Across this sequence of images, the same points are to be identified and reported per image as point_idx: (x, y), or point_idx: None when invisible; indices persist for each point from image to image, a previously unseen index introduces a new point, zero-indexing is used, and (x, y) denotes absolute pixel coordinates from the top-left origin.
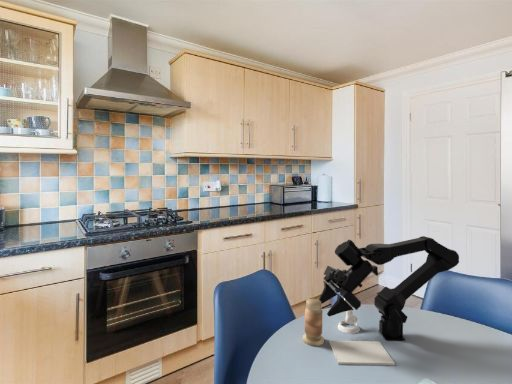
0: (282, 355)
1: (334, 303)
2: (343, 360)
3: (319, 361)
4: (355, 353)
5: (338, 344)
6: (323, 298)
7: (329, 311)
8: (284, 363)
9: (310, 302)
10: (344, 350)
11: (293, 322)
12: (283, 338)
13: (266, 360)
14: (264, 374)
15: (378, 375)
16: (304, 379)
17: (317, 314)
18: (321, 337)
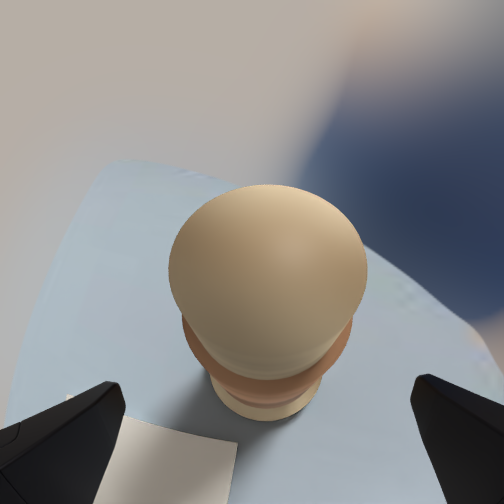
0: (175, 223)
1: (25, 447)
2: None
3: (103, 335)
4: (108, 497)
5: (191, 471)
6: (453, 437)
7: (82, 393)
8: (132, 222)
9: (242, 214)
10: (135, 469)
11: (443, 308)
12: None
13: (164, 182)
14: (111, 177)
15: None
16: (53, 259)
17: (182, 318)
18: (263, 409)
